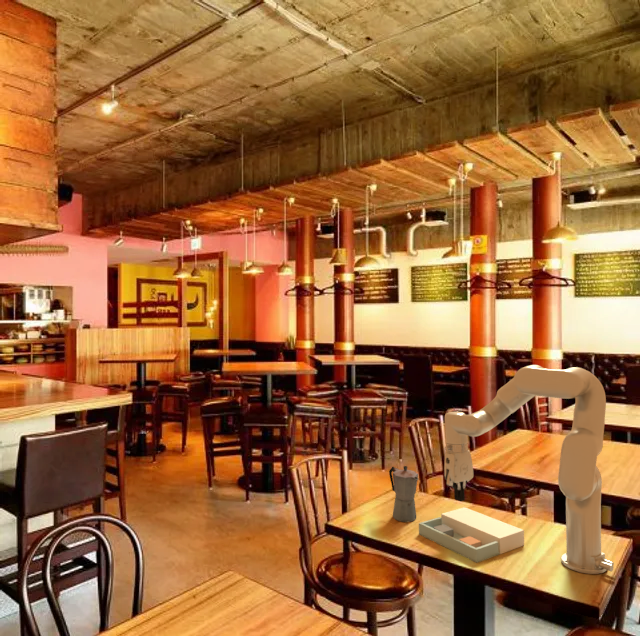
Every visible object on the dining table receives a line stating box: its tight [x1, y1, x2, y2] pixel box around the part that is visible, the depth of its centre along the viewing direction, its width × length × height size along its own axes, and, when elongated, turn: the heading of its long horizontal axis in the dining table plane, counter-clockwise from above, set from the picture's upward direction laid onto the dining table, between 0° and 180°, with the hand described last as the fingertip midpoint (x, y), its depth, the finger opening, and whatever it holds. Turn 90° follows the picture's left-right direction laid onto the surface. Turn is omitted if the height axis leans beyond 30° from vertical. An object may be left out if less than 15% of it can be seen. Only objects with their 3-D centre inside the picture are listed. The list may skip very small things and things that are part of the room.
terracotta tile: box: [459, 536, 481, 548], centre depth 173 cm, size 5×5×2 cm
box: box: [418, 516, 501, 563], centre depth 178 cm, size 26×11×4 cm, turn 32°
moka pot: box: [388, 465, 419, 523], centre depth 202 cm, size 10×15×20 cm, turn 40°
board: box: [440, 506, 525, 555], centre depth 184 cm, size 26×12×5 cm, turn 32°
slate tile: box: [433, 525, 454, 537], centre depth 184 cm, size 5×5×2 cm
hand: (459, 499), depth 186 cm, fingers closed
